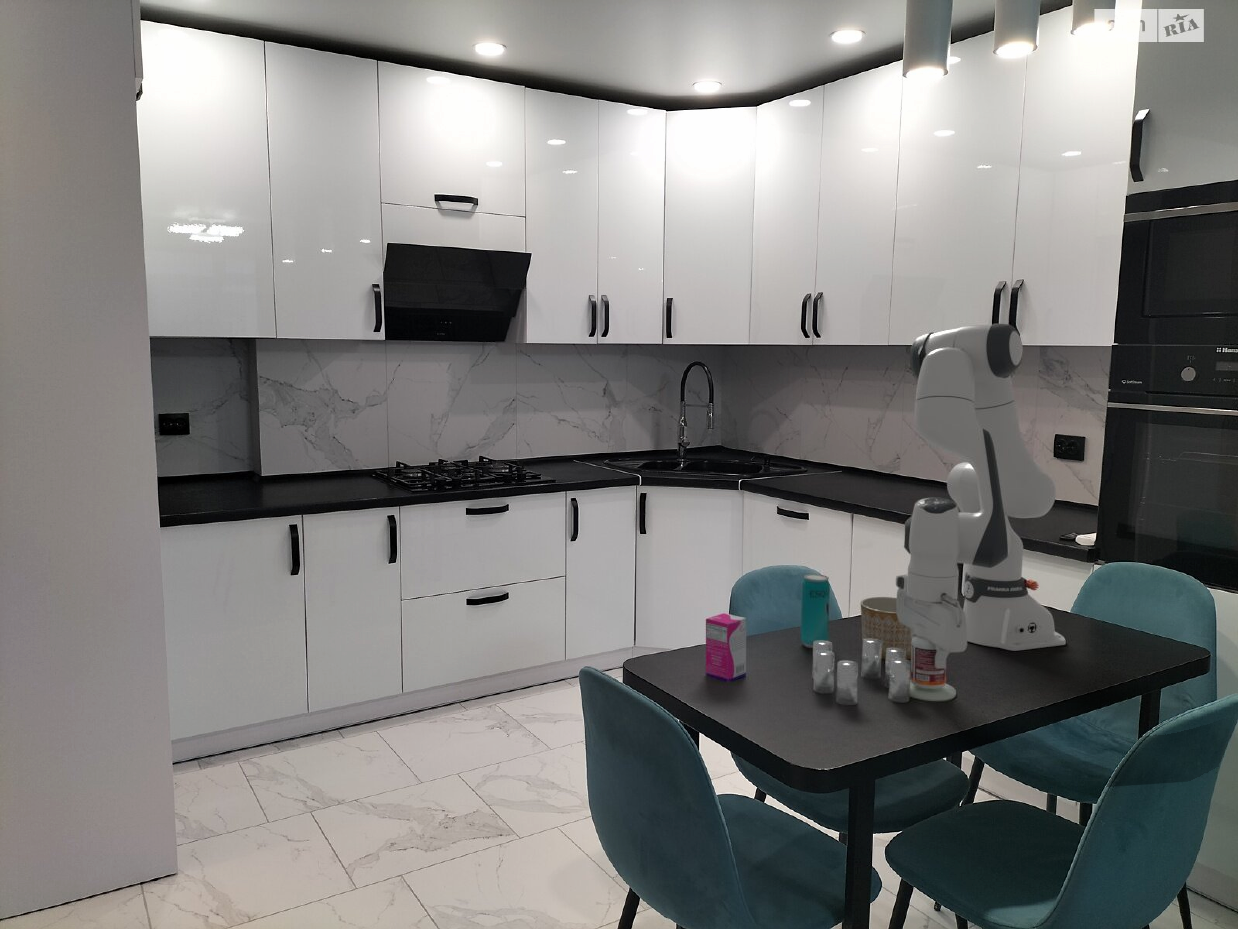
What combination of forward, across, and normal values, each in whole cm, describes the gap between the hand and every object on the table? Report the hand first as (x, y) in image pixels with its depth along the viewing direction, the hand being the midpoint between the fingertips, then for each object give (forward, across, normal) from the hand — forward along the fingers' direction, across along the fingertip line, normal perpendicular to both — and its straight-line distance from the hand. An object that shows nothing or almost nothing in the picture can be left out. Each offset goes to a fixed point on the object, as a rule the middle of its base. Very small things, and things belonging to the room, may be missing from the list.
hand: (928, 660), depth 167 cm
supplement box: (+6, +13, +35) cm, 38 cm away
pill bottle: (+5, 0, 0) cm, 5 cm away
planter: (+6, +22, -3) cm, 23 cm away
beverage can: (+6, +29, +11) cm, 32 cm away
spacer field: (+6, +3, +12) cm, 14 cm away
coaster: (+6, 0, 0) cm, 6 cm away
